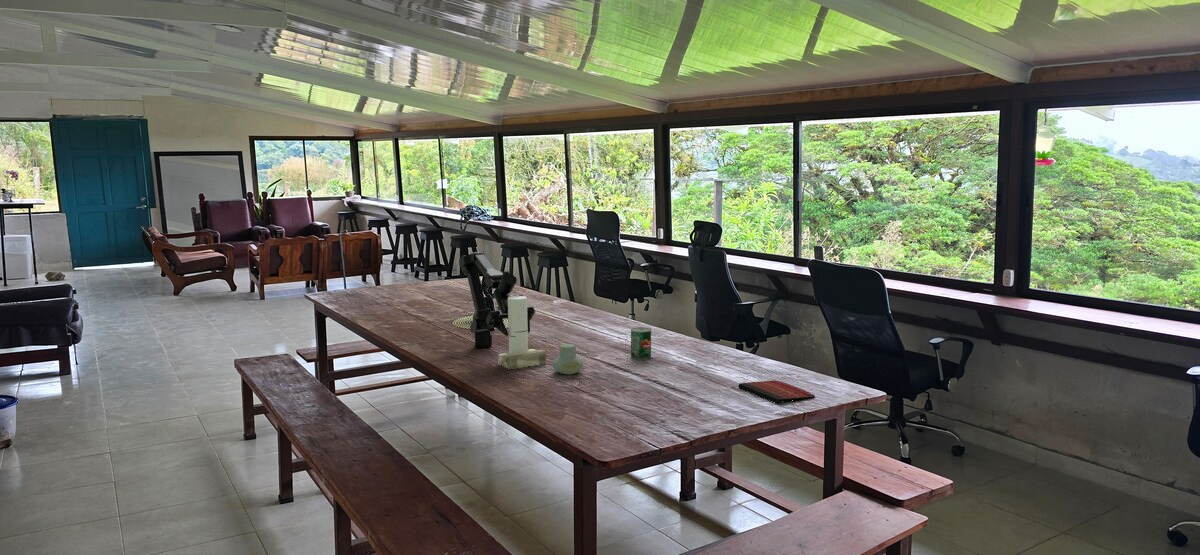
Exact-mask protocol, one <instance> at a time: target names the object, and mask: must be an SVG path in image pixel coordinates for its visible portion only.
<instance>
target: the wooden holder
mask: <svg viewBox="0 0 1200 555" xmlns="http://www.w3.org/2000/svg"><path fill="white" fill-rule="evenodd" d="M546 355H547V352H546V350H545V349H535V348H530V349H529V348H528V352H522V353H516V354H509V353H507V352H503V353H499V354H498V359H497V360H498V365H499V364H500V365H499V366H501V365H502V366H501V367H503V366H504V367H503V368H505V367H506V368H505V369H507V368H508V370H509V369H513V370H517V369H516V368H519V369H523V368H522V367H525V368H529V367H528V366H531V367H535V366H534V365H537V366H542V365H541V364H543V365H546V364H547V356H546Z"/></svg>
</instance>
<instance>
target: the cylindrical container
mask: <svg viewBox="0 0 1200 555" xmlns="http://www.w3.org/2000/svg"><path fill="white" fill-rule="evenodd" d="M516 296H517V295H514V296H511V297H508V319H507V320H508V321H507V322H508V325H507V326H508V354H516V353H522V352H528V350H529V333H528V324H527V307H528V296H524V295H523V296H519V297H516Z"/></svg>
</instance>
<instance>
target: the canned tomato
mask: <svg viewBox="0 0 1200 555" xmlns="http://www.w3.org/2000/svg"><path fill="white" fill-rule="evenodd" d="M650 357H651V358H652V329H651V328H650V327H642V326H640V327H633V328H631V329H630V359H632V358H634V359H633V360H636V359H646V360H649V359H648V358H650ZM651 358H650V359H651Z"/></svg>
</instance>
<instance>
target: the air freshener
mask: <svg viewBox="0 0 1200 555" xmlns="http://www.w3.org/2000/svg"><path fill="white" fill-rule="evenodd" d="M583 367H584V362H583V360H582V359H581V358H580V357H579V356H577V346H576V345H575V344H573V343H562V344H560V345H559V356H558V357H556V358H555V359H554V360H553V362H552V368H553V370H554V371H555V372H557V373H559V374H562V375H566V376H570V375H572V376H573V375H574V374H577V373H578V372H580V371H581V370H582V369H583Z"/></svg>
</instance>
